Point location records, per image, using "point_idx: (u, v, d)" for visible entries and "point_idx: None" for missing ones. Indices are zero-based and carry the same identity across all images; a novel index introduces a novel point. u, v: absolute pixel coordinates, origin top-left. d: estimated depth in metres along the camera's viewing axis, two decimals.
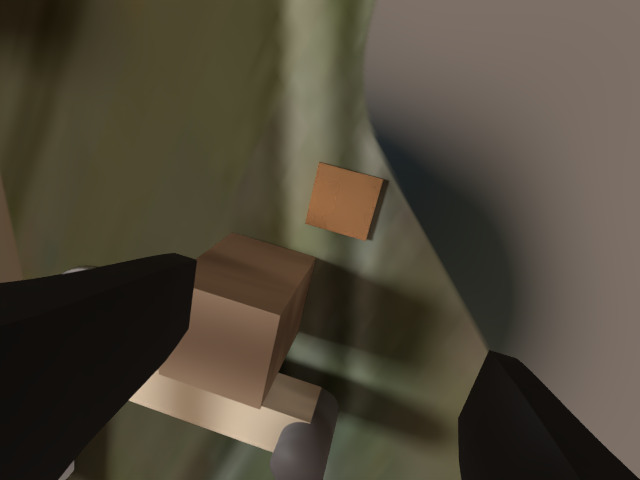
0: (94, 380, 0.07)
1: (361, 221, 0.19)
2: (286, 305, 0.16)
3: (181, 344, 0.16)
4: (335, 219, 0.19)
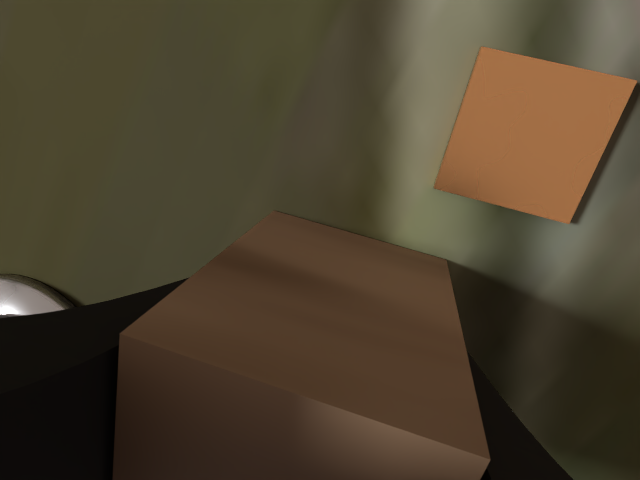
0: None
1: (566, 181, 0.09)
2: (475, 406, 0.05)
3: None
4: (504, 178, 0.09)
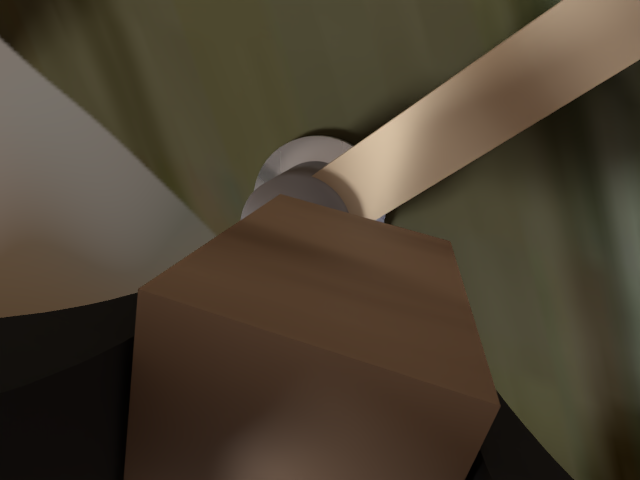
0: None
1: None
2: (484, 363, 0.05)
3: (179, 466, 0.06)
4: None
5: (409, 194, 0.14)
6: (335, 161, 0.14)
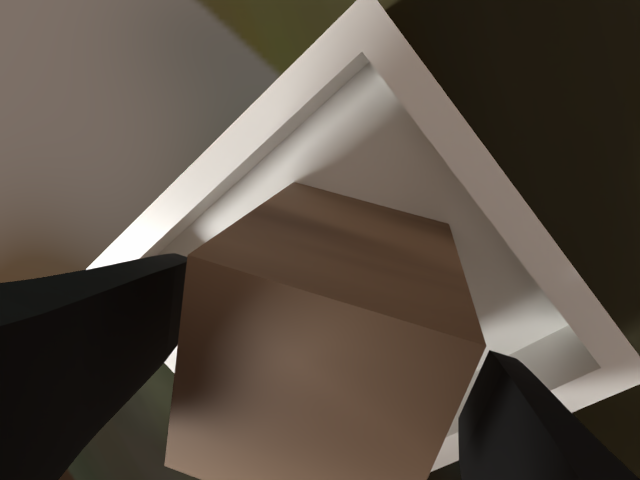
0: (94, 380, 0.07)
1: None
2: (475, 317, 0.06)
3: (217, 408, 0.07)
4: None
5: None
6: None
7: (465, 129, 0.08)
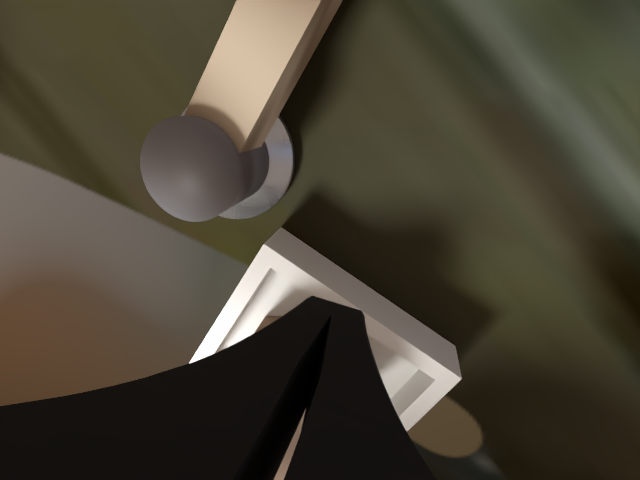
0: (278, 446, 0.07)
1: None
2: None
3: None
4: None
5: (267, 93, 0.14)
6: (195, 92, 0.15)
7: (326, 288, 0.18)
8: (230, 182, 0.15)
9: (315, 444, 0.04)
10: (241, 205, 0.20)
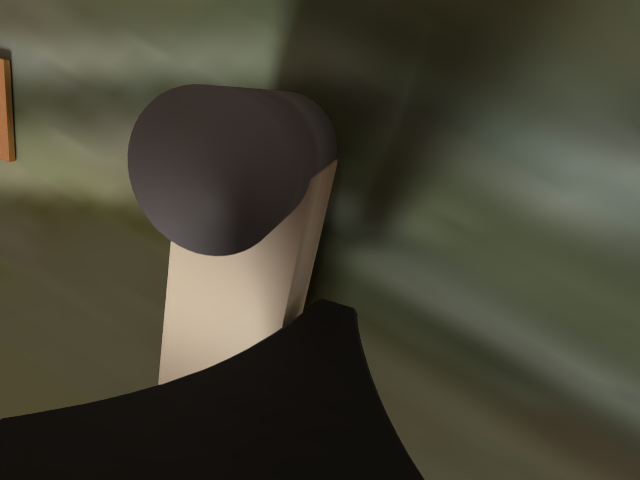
0: None
1: None
2: None
3: None
4: None
5: None
6: None
7: None
8: None
9: (299, 439, 0.04)
10: None
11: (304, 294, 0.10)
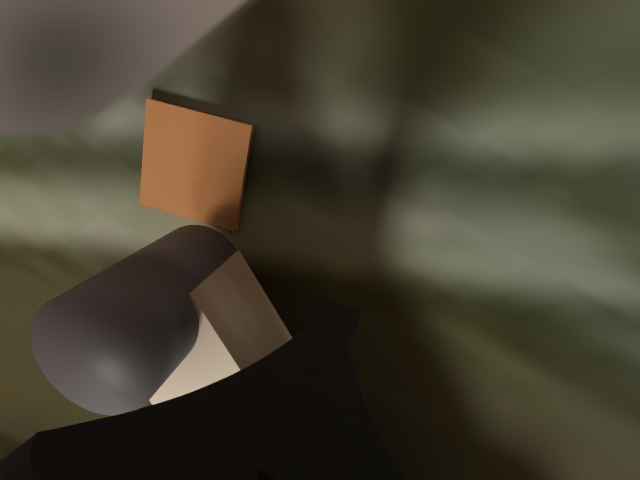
0: None
1: (218, 134, 0.11)
2: None
3: None
4: (221, 180, 0.11)
5: None
6: None
7: None
8: None
9: (278, 431, 0.04)
10: None
11: None
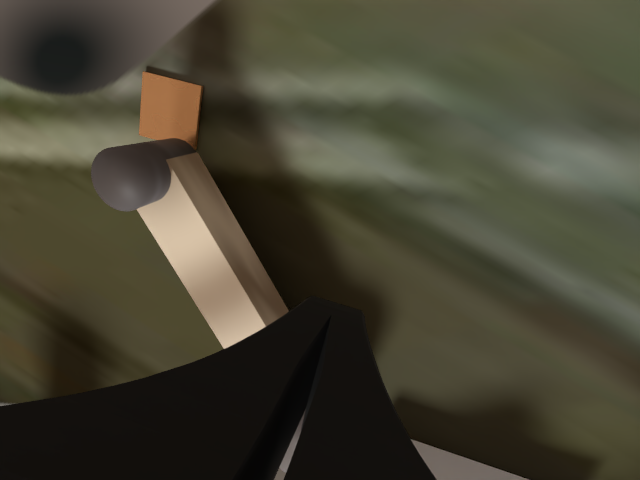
0: (278, 446, 0.07)
1: (183, 91, 0.19)
2: None
3: None
4: (185, 118, 0.19)
5: None
6: None
7: None
8: None
9: (315, 444, 0.04)
10: None
11: (231, 219, 0.19)
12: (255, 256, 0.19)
